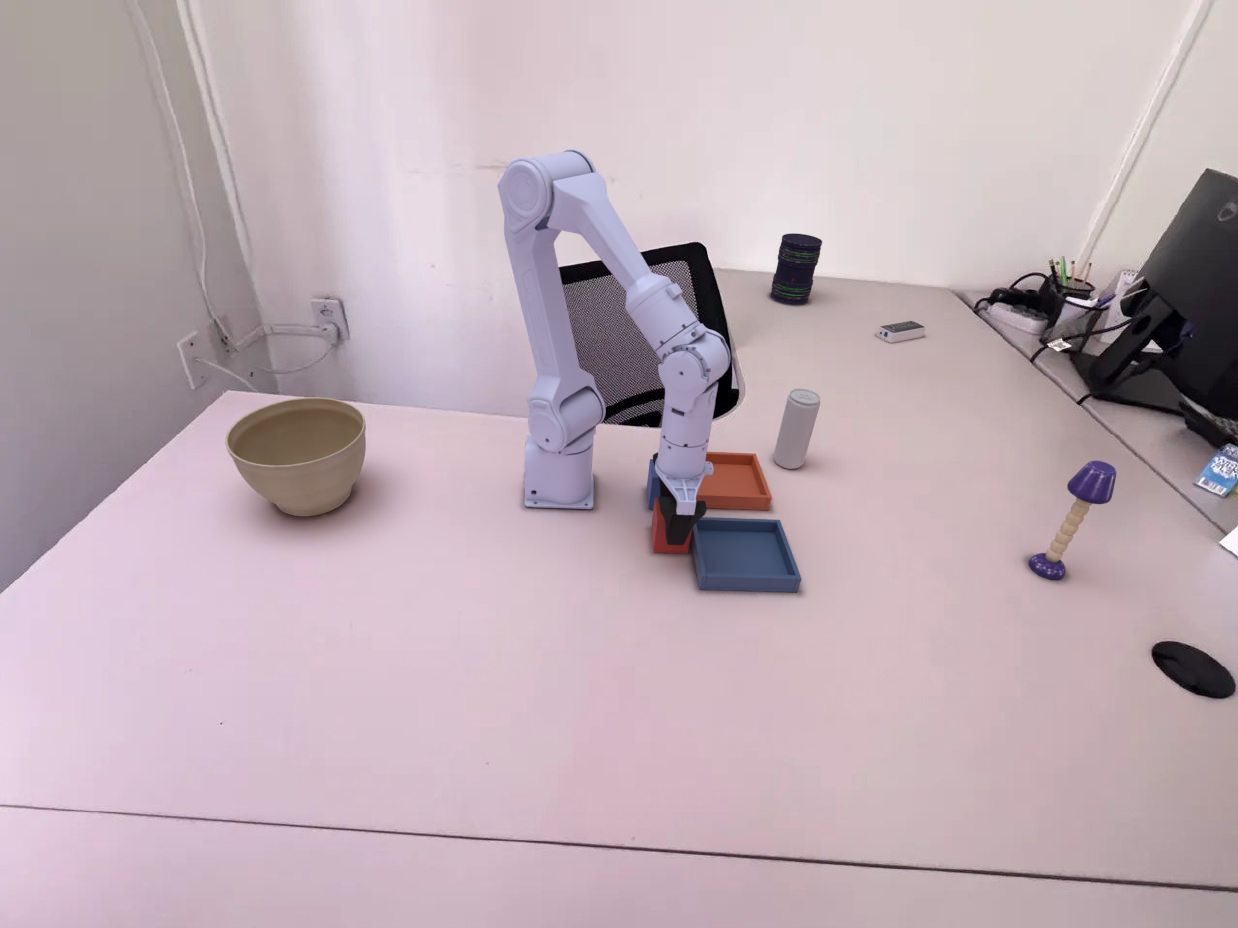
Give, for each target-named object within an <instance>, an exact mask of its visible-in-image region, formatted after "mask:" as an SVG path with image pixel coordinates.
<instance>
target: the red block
mask: <svg viewBox="0 0 1238 928" xmlns="http://www.w3.org/2000/svg"><path fill="white" fill-rule="evenodd" d="M691 532H692V529H691V531H690V533H689V535H688V537H687V539H686V541H685V543H684V545H668V544H667V541H666V534H665V520H664V517H663V516H662V514H661V511H660V508H659V502H658V498H655V501H654V509H652V518H651V525H650V535H651V542H652V543H651V545H652V552H653V554H683V555H685V554H687V555H688V553H689V548H690V544H691V541H690V538H691Z"/></svg>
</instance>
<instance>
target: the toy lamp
mask: <svg viewBox="0 0 1238 928" xmlns="http://www.w3.org/2000/svg"><path fill="white" fill-rule="evenodd" d="M1116 478H1117V469H1116V468H1115V467H1114V466H1113V465H1112V464H1110V463H1108V462H1106V461H1103V460H1098V459H1097V460H1095V459H1094V460H1090V461H1088V462H1087V463H1085V464H1084V466H1082V468H1081V469H1080V470H1078V472H1077V473H1076V474H1075V475H1074V476H1072V477H1071V478H1070V480H1069V481H1068V482H1067V485H1066V487H1067V490H1068V492H1069V493H1070V494H1071V495H1072V496H1073V497H1075V501H1074V502H1073V503H1072V505H1071V506H1070V511H1068V513H1067V514H1066V515H1065V520H1063V522H1062V523H1061V525H1060V526H1059V527H1060V529H1059V530H1057V531H1056V533H1055V536H1054V537H1055V538H1053V540H1051V543H1050V547H1049V548H1047V550H1046V552H1040V553H1039V552H1038V553H1036V554H1033V556H1031V557H1030V558H1029V560H1028V565H1029V567H1030V569H1031V570H1032V572H1034V573H1035V574H1037V575H1038V576H1040V577H1042V578H1044V579H1046V580H1051V581H1052V580H1053V581H1058V580H1059V581H1060V580H1063V578H1064V577H1065V575H1066V566H1065V564H1064V562H1063V561H1062V557H1063V554H1064V553H1065V552H1066V550H1067V549H1068V547H1069V544H1070V543H1071V542H1072V541H1073V538H1074V535H1076V533H1077V532H1078V531H1079V526H1080V525H1081V524H1082V523H1083V521H1084V520H1085V518H1084V517H1085V516H1086V515H1087V514H1088V513H1089V511H1090V507H1091V506H1092V505H1106V504H1107V503H1109V502H1111V500H1112V498H1113V494H1114V490H1115V484H1116V480H1117V479H1116Z"/></svg>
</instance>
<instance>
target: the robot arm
mask: <svg viewBox="0 0 1238 928" xmlns="http://www.w3.org/2000/svg"><path fill="white" fill-rule="evenodd" d="M595 166H596V165H595V164H594V162H593V161H592V159H591V158H590V157H589V156H588V155H587V154H586V153H585V152H584V151H581V150H579V149H573V148H571V149H566V150H564V151H562V152H556V153H551V154H544V155H538V156H533V157H518V158H516V159H514V160H512V161H511V162H509V164H508V166H507V167H506V169H505V171H504V172H503V175H502V176H501V178H500V180H499V181H498V183H497V184H496V185H497V190H498V191H497V192H498V195H499V198H500V204H501V207H502V212H503V216H504V217H503V218H504V219H503V235H504V236H503V237H504V241H505V244H506V249H507V254H508V258H509V261H510V266H511V270H512V275H513V279H514V283H515V286H516V287H515V288H516V291H517V295H518V298H519V300H518V301H519V304H520V308H521V312H522V316H523V320H524V324H525V329H526V333H527V337H528V341H529V345H530V349H531V352H532V358H533V362H534V366H535V370H536V374H537V377H536V380H535V382H534V383H533V386H532V387H531V390H530V391H529V393H528V396H527V398H526V402H527V405H528V418H527V426H528V430H529V433H530V434H529V435H526V438H525V444H524V445H525V447H524V463H523V464H524V467H523V468H524V470H523V484H524V507H526V508H546V509H547V508H549V509H573V510H574V509H575V510H577V509H579V510H592V509H594V474H593V473H592V472H593V456H594V455H593V454H594V439H595V437H594V436H595V435H596V434H597V433H596V431H597V426H599V425H600V424H601V423H602V422H603V421H604V420H605V418H606V413H607V412H606V409H607V408H606V402H605V401H604V398H603V396H602V395H601V393H600V392H599V390H598V388H597V385H596V382H595V377H594V375H592V374H591V373H589V371H586V370H584V369H583V368H581V367H580V362H579V359H578V353H577V348H576V344H575V343H576V342H575V338H574V334H573V329H572V325H571V319H570V315H569V310H568V306H567V301H566V296H565V291H564V287H563V282H562V277H561V272H560V267H559V263H558V258H557V253H556V248H555V241H556V240H557V239H558V237H559V235H560V234H561V232H567V233H573V234H577V235H580V236H581V237H582V238H583V240H584V241H585V242H586V243H587V244H588V246H589V247H590V248H591V249H592V251H593V252H594V253H595V254H596V256H597V257H598V258H599V259H600V261H601V262H602V263H603V264H604V266H605V267H606V268H607V270H608V271H609V272H610V273H611V274H612V275H613V277H614V278H615V279H616V281H617V282H618V283H619V284H620V285H621V287H622V288H623V289H624V291H625V292H626V293H625V294H626V296H625V304H624V305H625V311H626V312H627V314H628V315H629V316H630V318H631V320H632V321H633V322H634V324H635V325H636V327H637V328H638V329H639V331H640V332H641V334H642V335H643V337H644V339H645V340H646V341H647V343H648V344H649V345H650V347H651V348H652V350H653V351H654V352H655V354H656V355H657V357H658V359H659V360H660V361H661V363H659V364H658V365H657V370H658V376H659V379H660V381H661V383H662V385H663V387H664V403H663V412H662V420H661V427H660V434H659V435H660V436H659V445H658V452H655V453H654V454H653V455H652V459H653V464H654V466H655V470H656V473H657V474H658V477H659V484H660V497H658V502H659V508H660V511H661V514H662V516H663V517H664V520H665V534H666V541H667V544H668V545H684V543H685V541H686V539H687V537H688V535H689V533H690V531H691V529H692V528H693V526H694V525H695V523H696V522H697V521H698V520H699V519H700V518H701V517H705V515H706V513H707V510H708V508H707V507H706V502H705V501H696V496H697V493H698V490H699V488H700V485H701V483H702V480H703V478H704V476H705V475H712V474H713V471H714V468H713V464H712V463H711V462H708V461H705V460H706V454H707V452H708V449H709V448H708V447H709V441H710V436H711V431H712V425H713V418H714V414H715V413H714V412H715V407H716V398H717V393H718V387H719V382H718V380H719V379H720V378H722V377H723V376H724V374H725V373H726V372H727V371H728V369H729V367H730V363H731V351H730V349H729V346H728V344H727V343H726V339H725V338H724V336H723V335H722V334H721V333H719V332H717V331H716V330H713V329H709V328H708V327H706V326H705V325H704V323H701V322H700V321H699V320H698V318H697V317H696V315H695V314H694V313H693V311H692V310H691V308H690V306H689V305H688V303H687V302H686V301H685V300H684V298H683V296H682V294H683V290H682V288H681V287H680V285H679V284H678V283H677V282H675V283H673V282H672V281H671V279H670V278H669V277H668V276H665V275H661V274H658V273H654V272H653V271H652V270H651V269H650V267H649V265H648V264H647V262H646V260H645V259H644V257H643V255H642V253H641V251H640V250H639V249H638V247H637V245H636V244H635V241H634V240H633V238H632V236H631V235H630V233H629V231H628V229H627V228H626V226H625V225H624V223H623V221H622V220H621V218H620V216H619V215H618V213H617V211H616V210H615V208H614V207H613V205H612V203H611V201H610V199H609V196H608V191H607V182H606V179H605V178H604V177H603V176H602V174H601V173H599V171H597V168H596V167H595Z"/></svg>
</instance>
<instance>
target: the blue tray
mask: <svg viewBox="0 0 1238 928" xmlns="http://www.w3.org/2000/svg"><path fill="white" fill-rule="evenodd" d="M690 546H691V551H692V557H693V562H694V563H693V564H694V568H695V573H696V574H695V575H696V579H697V584H698V590H700V591H703V590H704V591H708V590H709V591H736V592H737V591H740V592H774V593H775V592H778V593H798V592H799V588H800V586H801V582H802V576H801V574H800V571H799V568H798V565H797V562H796V560H795V558H794V555H793V551H792V549H791V547H790V543H789V541H788V537H787V535H786V533H785V529H784V526H783V524H782V522H781V519H767V518H743V517H742V518H739V517H715V516H714V517H712V516H703V517H701V518H700V519H699V520H698V521H697V522H696V523H695V525H694V526H693V528H692V532H691V538H690Z"/></svg>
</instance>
